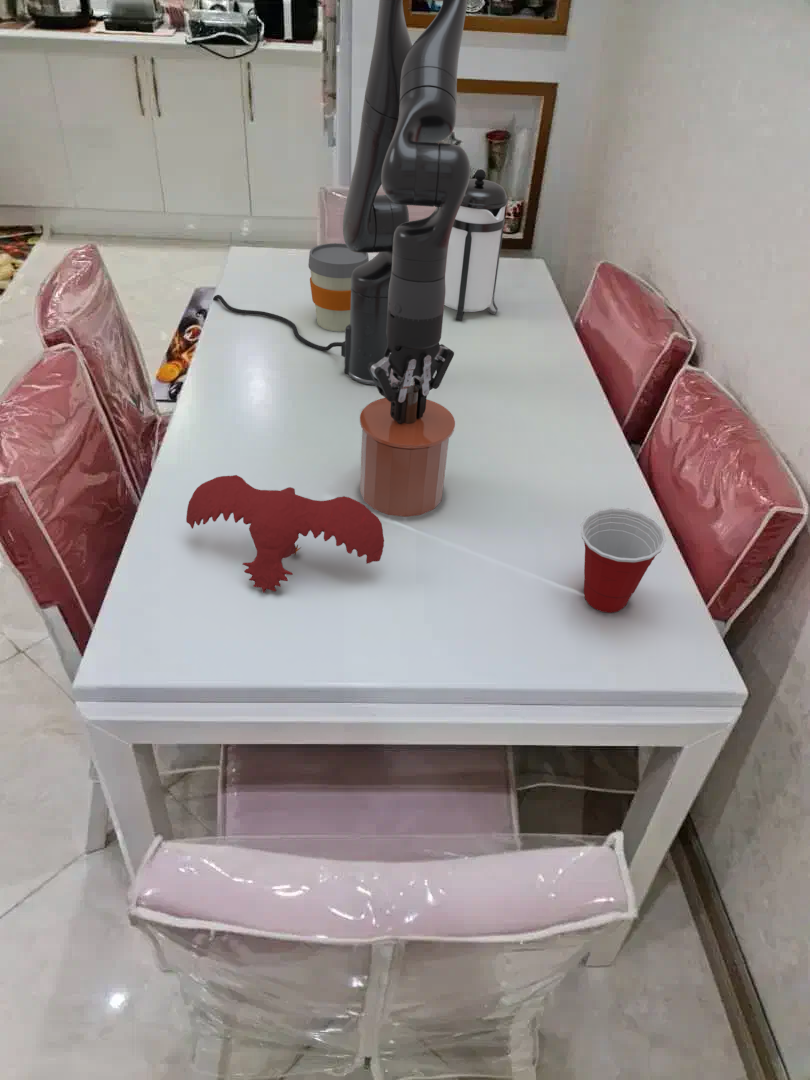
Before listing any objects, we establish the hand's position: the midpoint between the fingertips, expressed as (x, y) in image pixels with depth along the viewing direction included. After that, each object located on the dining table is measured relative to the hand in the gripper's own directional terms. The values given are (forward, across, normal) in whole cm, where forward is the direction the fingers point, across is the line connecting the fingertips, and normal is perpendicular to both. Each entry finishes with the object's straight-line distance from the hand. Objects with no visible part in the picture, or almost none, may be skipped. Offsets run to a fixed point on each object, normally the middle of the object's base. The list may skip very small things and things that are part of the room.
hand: (407, 417), depth 119 cm
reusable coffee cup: (+14, -24, -59) cm, 65 cm away
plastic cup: (+14, -10, +34) cm, 38 cm away
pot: (+14, 0, 0) cm, 14 cm away
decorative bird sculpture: (+14, +24, +5) cm, 29 cm away
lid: (+1, 0, 0) cm, 1 cm away
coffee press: (+14, -53, -54) cm, 77 cm away
